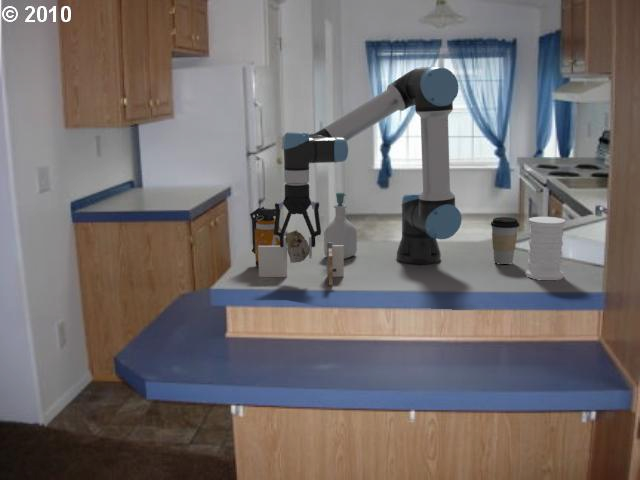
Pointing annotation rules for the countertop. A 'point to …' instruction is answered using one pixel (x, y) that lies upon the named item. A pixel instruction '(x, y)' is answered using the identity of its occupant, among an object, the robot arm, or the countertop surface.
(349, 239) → the soap bottle
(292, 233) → the rock
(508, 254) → the coffee cup
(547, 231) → the decorative container
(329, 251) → the door
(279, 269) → the wall
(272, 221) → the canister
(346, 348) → the countertop surface
